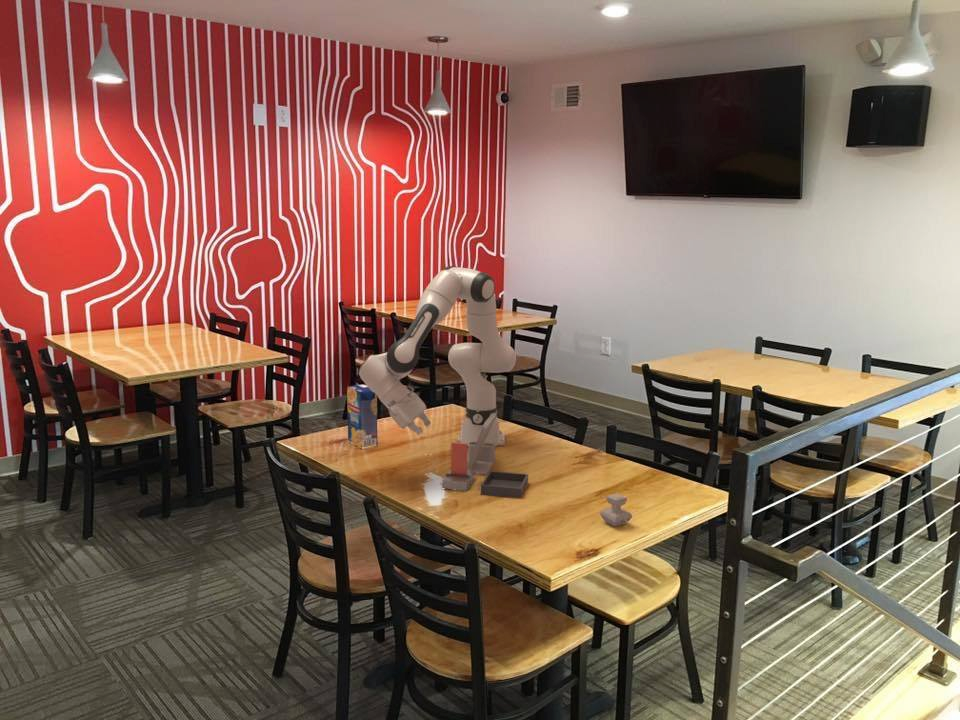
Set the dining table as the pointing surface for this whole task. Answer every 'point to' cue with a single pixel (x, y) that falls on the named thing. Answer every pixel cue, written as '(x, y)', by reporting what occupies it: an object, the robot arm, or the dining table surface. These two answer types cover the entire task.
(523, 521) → the dining table surface
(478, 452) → the phone holder
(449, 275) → the robot arm
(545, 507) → the dining table surface
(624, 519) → the stamp
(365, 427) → the beverage box
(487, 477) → the tray
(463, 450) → the ticket
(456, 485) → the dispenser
